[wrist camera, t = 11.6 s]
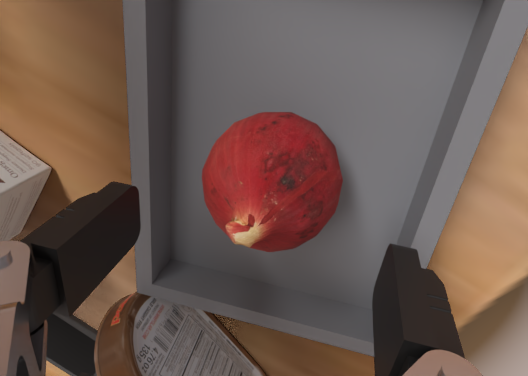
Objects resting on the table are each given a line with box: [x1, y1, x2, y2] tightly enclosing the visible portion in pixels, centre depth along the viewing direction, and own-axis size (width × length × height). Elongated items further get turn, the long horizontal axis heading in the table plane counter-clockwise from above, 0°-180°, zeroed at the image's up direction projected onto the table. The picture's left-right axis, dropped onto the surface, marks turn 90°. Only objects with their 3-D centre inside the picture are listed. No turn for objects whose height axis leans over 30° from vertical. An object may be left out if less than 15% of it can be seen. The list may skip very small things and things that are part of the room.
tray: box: [123, 0, 528, 357], centre depth 19 cm, size 20×15×4 cm
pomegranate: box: [202, 112, 343, 252], centre depth 16 cm, size 6×6×8 cm
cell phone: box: [46, 313, 98, 376], centre depth 33 cm, size 7×14×1 cm, turn 57°
